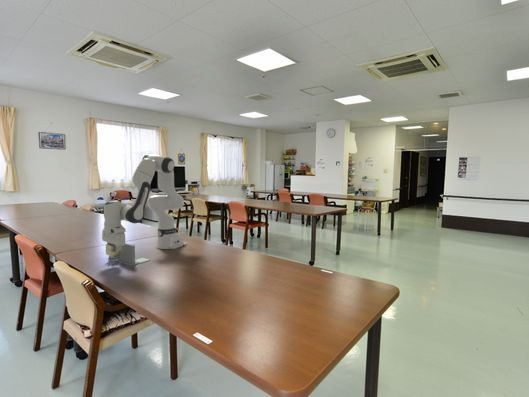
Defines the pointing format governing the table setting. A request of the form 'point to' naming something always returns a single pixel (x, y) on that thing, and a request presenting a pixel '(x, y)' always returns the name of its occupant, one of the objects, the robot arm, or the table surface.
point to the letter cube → (112, 250)
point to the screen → (127, 254)
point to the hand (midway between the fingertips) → (113, 250)
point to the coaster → (142, 260)
